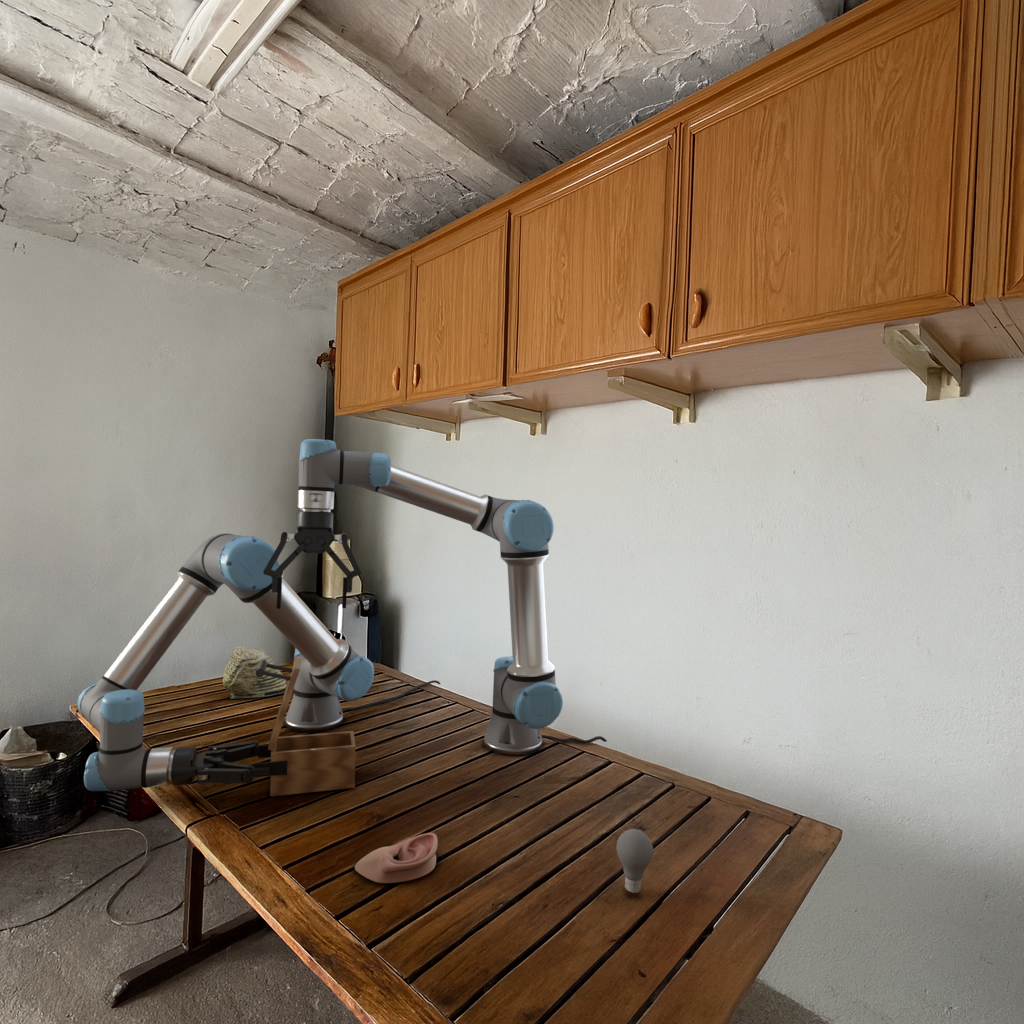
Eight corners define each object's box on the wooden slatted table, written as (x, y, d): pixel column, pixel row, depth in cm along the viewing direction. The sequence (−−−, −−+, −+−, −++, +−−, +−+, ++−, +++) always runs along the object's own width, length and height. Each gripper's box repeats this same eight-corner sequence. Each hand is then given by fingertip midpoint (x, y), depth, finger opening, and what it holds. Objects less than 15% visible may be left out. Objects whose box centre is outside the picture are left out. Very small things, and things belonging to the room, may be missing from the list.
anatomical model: (347, 854, 106) (375, 820, 117) (346, 877, 106) (374, 841, 117) (422, 866, 103) (444, 831, 114) (421, 891, 103) (443, 853, 114)
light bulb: (610, 879, 108) (613, 822, 108) (644, 879, 109) (647, 822, 109) (619, 902, 102) (622, 840, 102) (655, 901, 103) (658, 840, 103)
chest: (352, 770, 147) (353, 730, 146) (354, 787, 138) (355, 746, 138) (273, 777, 142) (274, 737, 141) (270, 796, 133) (270, 753, 133)
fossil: (218, 695, 195) (220, 647, 195) (278, 685, 208) (279, 640, 207) (228, 703, 189) (230, 653, 188) (289, 692, 201) (290, 645, 201)
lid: (301, 658, 143) (263, 649, 140) (299, 669, 134) (259, 660, 131) (276, 734, 142) (238, 727, 139) (273, 750, 133) (232, 743, 130)
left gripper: (183, 762, 142) (289, 755, 149) (160, 809, 121) (284, 798, 128) (185, 729, 142) (291, 723, 148) (161, 770, 121) (286, 761, 128)
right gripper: (252, 508, 131) (248, 611, 131) (375, 513, 138) (371, 610, 139) (255, 508, 138) (252, 604, 138) (372, 512, 145) (368, 604, 146)
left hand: (288, 758), depth 138 cm, fingers closed on chest, 9 cm apart
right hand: (311, 607), depth 139 cm, fingers open, 13 cm apart
